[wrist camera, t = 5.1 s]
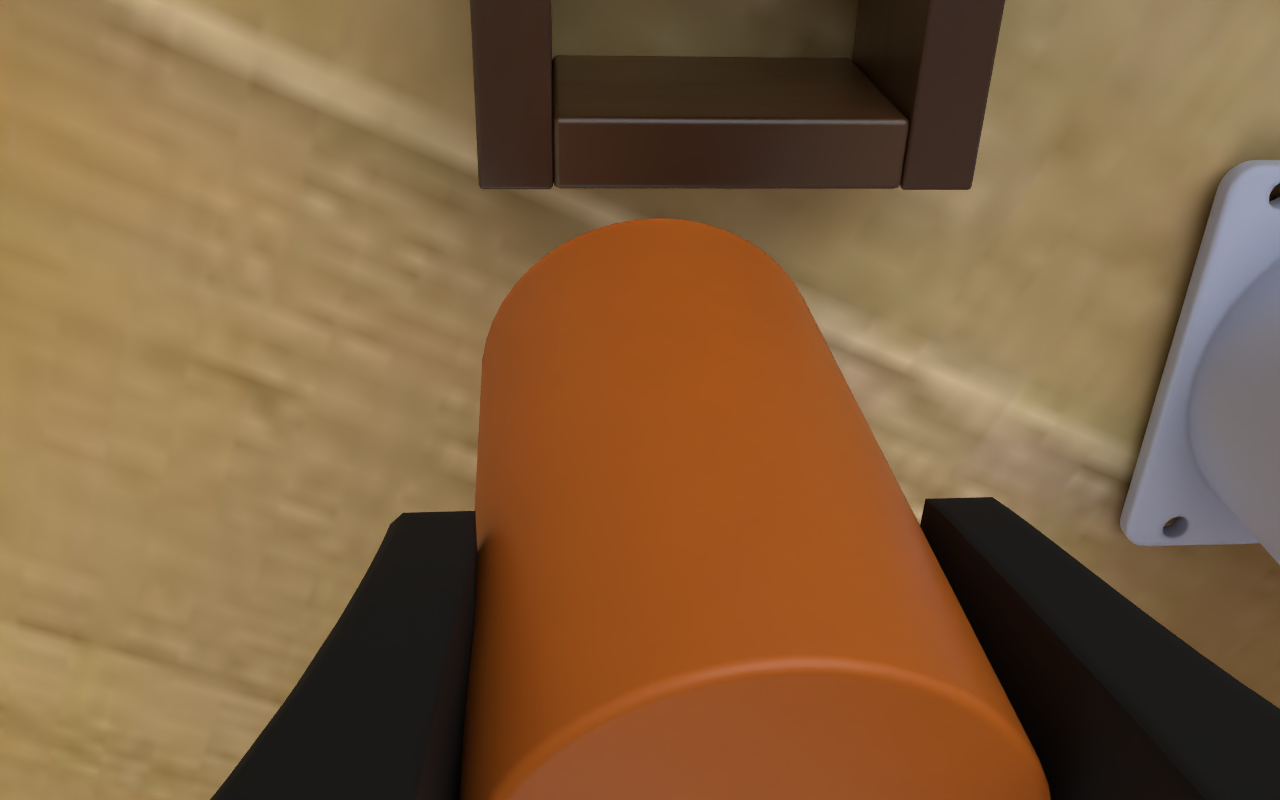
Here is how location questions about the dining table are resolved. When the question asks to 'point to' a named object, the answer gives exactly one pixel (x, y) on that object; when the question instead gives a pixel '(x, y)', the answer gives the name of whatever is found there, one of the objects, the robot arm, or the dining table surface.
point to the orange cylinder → (705, 553)
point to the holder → (737, 107)
